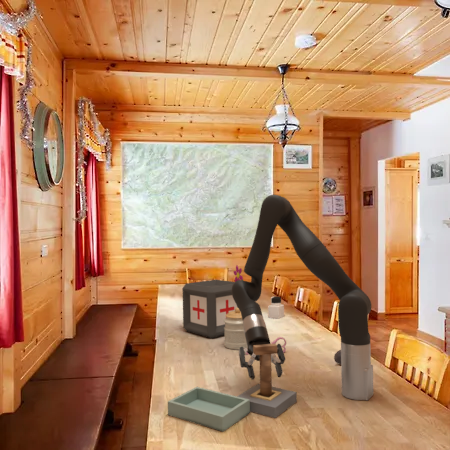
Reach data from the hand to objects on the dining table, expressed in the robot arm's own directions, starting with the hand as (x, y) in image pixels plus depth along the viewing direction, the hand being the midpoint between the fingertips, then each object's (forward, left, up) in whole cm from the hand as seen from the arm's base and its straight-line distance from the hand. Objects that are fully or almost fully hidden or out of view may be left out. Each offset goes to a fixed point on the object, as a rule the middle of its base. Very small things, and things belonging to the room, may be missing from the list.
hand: (266, 377), depth 138 cm
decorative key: (+28, -47, -9) cm, 55 cm away
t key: (+1, -1, -9) cm, 9 cm away
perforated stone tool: (-8, -53, -9) cm, 54 cm away
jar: (+44, -51, -9) cm, 68 cm away
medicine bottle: (+58, -113, -9) cm, 127 cm away
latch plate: (+1, -1, -9) cm, 9 cm away
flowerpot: (+80, -113, -9) cm, 138 cm away
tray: (+12, +14, -9) cm, 20 cm away
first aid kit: (+70, -68, -9) cm, 98 cm away
